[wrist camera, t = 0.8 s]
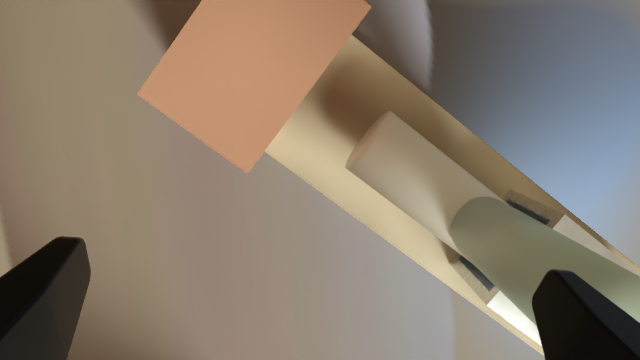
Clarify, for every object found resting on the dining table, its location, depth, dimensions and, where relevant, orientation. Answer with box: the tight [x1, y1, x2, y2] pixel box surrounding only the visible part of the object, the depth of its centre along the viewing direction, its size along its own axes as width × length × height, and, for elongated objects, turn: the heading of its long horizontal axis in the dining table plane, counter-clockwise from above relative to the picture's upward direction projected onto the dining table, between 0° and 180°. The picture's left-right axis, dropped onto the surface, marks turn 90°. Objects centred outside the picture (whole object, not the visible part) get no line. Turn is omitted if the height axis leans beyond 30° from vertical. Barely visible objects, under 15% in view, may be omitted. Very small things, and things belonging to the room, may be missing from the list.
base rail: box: [265, 34, 640, 356], centre depth 25 cm, size 7×26×1 cm, turn 53°
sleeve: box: [449, 189, 640, 346], centre depth 23 cm, size 5×8×5 cm, turn 53°
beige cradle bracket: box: [345, 111, 640, 326], centre depth 18 cm, size 3×15×12 cm, turn 53°
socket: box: [137, 0, 372, 174], centre depth 19 cm, size 7×4×7 cm, turn 143°
